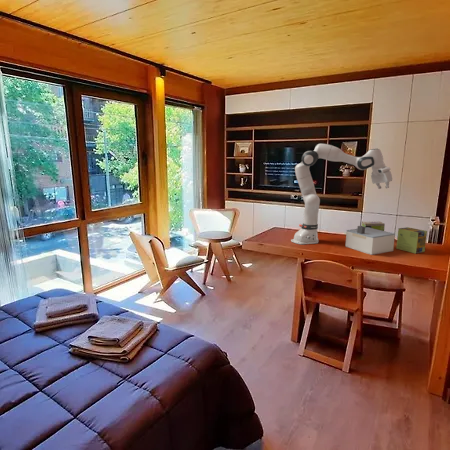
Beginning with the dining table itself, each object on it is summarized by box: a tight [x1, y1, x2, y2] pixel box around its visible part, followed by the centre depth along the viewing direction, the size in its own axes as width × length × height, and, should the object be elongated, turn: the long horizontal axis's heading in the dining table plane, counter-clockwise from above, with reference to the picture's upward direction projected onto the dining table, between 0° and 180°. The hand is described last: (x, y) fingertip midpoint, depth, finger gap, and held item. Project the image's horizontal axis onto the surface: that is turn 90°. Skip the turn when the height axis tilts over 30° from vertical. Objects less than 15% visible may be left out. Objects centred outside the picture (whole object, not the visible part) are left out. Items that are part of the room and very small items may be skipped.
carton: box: [345, 230, 396, 256], centre depth 240 cm, size 22×24×12 cm
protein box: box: [395, 226, 428, 254], centre depth 236 cm, size 10×15×16 cm
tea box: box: [361, 220, 385, 231], centre depth 266 cm, size 15×10×15 cm
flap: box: [346, 225, 396, 238], centre depth 238 cm, size 22×24×6 cm
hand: (383, 188), depth 239 cm, fingers open, 8 cm apart
